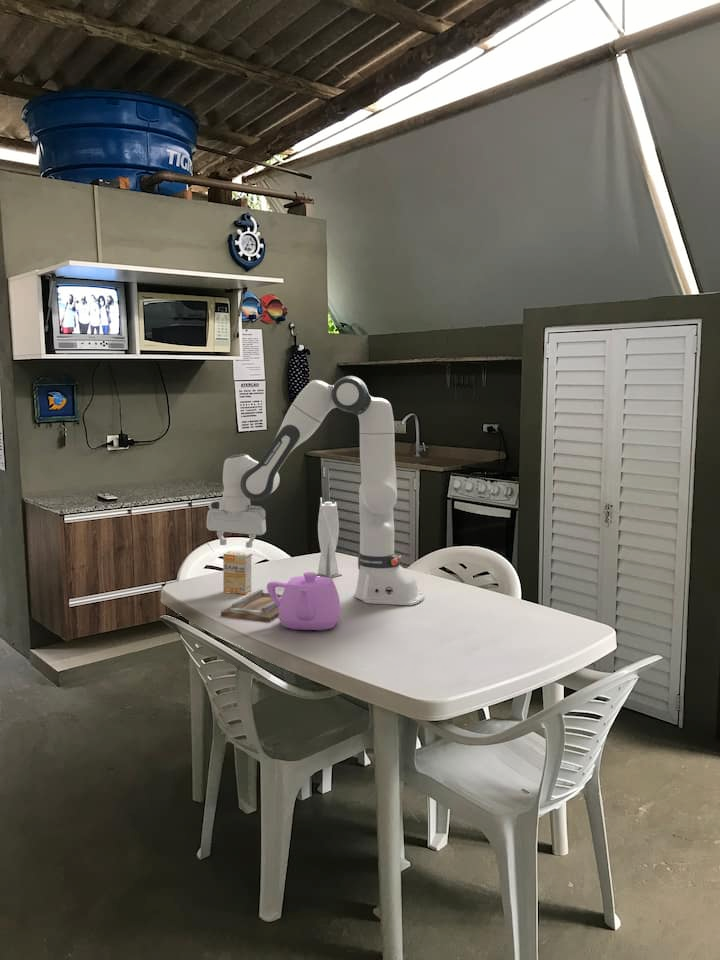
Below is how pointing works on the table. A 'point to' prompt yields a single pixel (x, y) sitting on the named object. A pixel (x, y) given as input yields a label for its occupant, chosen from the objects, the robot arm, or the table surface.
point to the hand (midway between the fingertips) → (236, 546)
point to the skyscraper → (328, 539)
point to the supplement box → (237, 572)
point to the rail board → (254, 607)
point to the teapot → (307, 602)
